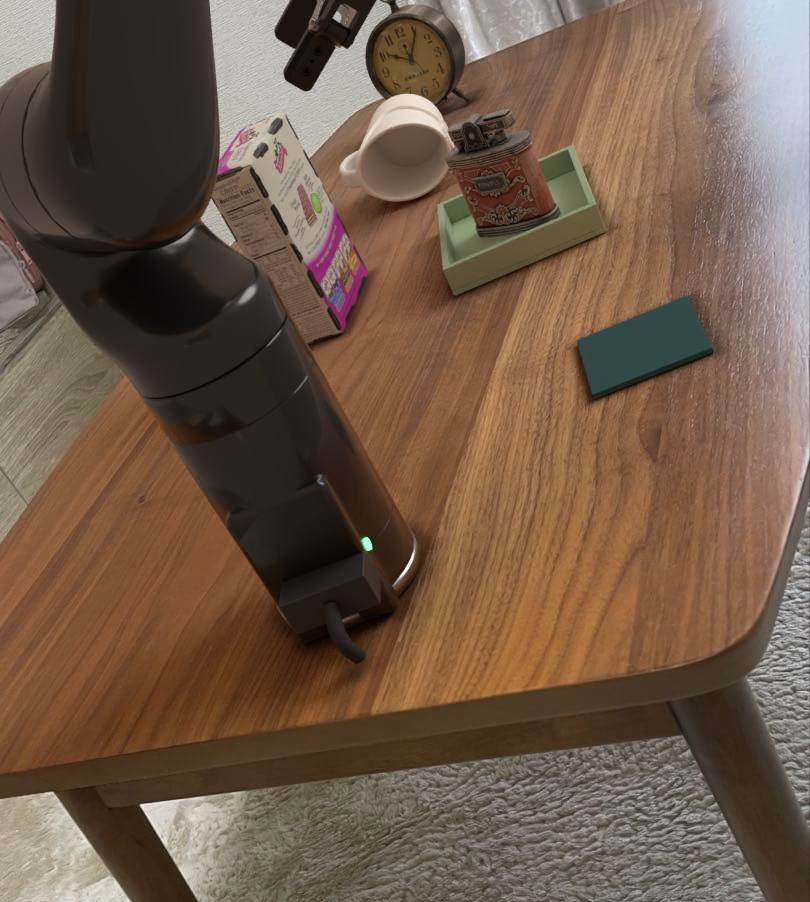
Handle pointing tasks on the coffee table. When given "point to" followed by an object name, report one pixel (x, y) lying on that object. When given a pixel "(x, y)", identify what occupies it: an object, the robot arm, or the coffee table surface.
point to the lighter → (499, 176)
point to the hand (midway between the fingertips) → (289, 62)
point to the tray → (494, 257)
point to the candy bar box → (289, 226)
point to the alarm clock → (416, 54)
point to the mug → (400, 151)
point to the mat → (643, 347)
